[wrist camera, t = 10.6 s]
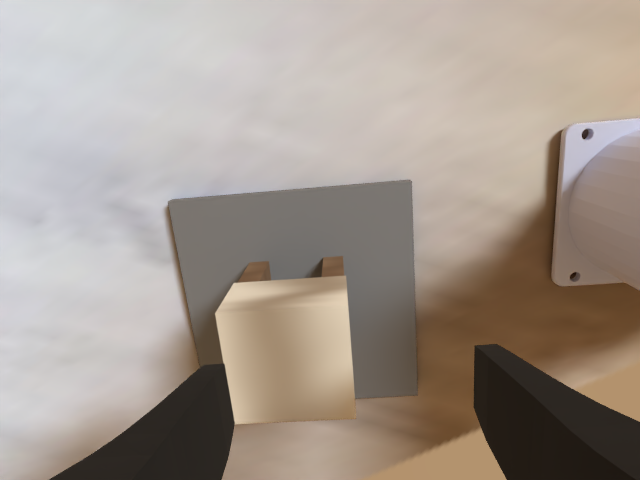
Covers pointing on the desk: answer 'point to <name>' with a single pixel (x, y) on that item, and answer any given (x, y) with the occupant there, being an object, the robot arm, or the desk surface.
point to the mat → (311, 265)
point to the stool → (288, 346)
